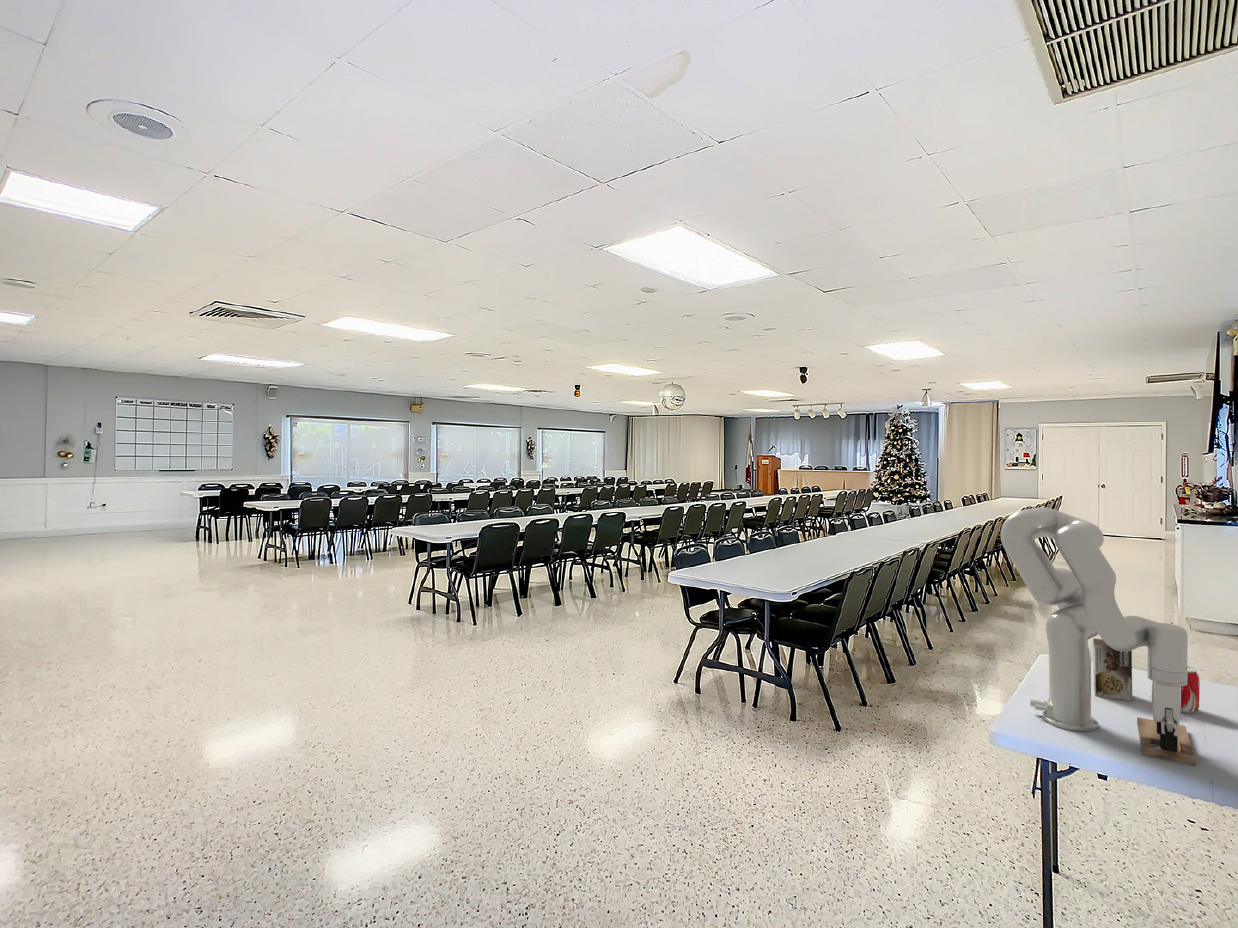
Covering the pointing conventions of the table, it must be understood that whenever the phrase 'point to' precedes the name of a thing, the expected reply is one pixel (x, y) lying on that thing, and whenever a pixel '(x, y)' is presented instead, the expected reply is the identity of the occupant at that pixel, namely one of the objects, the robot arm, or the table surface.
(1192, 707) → the soda can
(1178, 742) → the ball
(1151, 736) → the board
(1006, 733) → the table surface
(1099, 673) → the food box
